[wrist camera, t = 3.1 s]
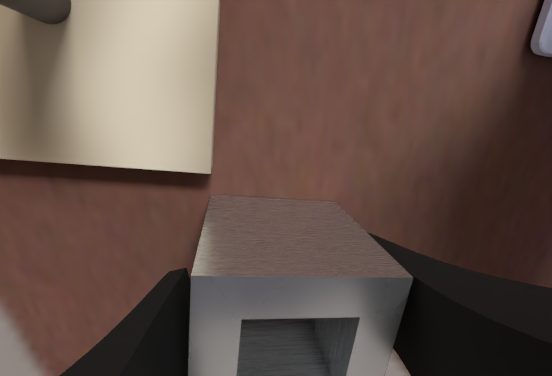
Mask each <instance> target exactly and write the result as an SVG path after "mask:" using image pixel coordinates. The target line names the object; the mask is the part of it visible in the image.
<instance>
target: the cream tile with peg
mask: <svg viewBox="0 0 552 376" xmlns="http://www.w3.org/2000/svg"><path fill="white" fill-rule="evenodd" d="M219 19H220V0H0V159H11V160H25V161H39V162H53V163H67V164H80V165H94V166H108V167H122V168H136V169H150V170H163V171H177V172H191V173H205V174H211V171H212V163H213V143H214V122H215V101H216V81H217V60H218V40H219Z"/></svg>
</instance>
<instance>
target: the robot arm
mask: <svg viewBox="0 0 552 376" xmlns="http://www.w3.org/2000/svg"><path fill="white" fill-rule="evenodd" d="M531 49H532V51H533V52H534V53H535V54H537V55H542V56H547V57H552V0H544V3H543V6H542V9H541V12H540V15H539V18H538V21H537V24H536V27H535V30H534V33H533V36H532V39H531ZM368 234H369V235H370V236H371V237H372V238H373V239H374V240H375V241H376V242H377V243H378V244H379V245H380V246H381V247H382V248H383V249H384V250H385V251H386V252H388V253H389V254H390V255H391V256H392V257H393V258H394V259H395V260H396V261H397V262H398V263H399V264H400V265H401V266H402V267H403V268H404V269H405V270H406V271H407V272H408V273H409V274H410V275H411V276H412V277H413V281H412V284H411V288H410V291H409V294H408V298H407V301H406V305H405V308H404V311H403V315H402V318H401V322H400V325H399V328H398V332H397V335H396V339H395V342H394V345H393V348H394V349H395V351H396V352H397V354H398V355H399V357H400V358H401V360H402V362H403V363H404V365H405V366H406V368H407V370H408V371H409V373H410V375H411V376H552V288H547V287H542V286H537V285H531V284H526V283H521V282H516V281H512V280H507V279H503V278H498V277H494V276H490V275H486V274H482V273H478V272H474V271H471V270H467V269H464V268H460V267H457V266H454V265H450V264H447V263H444V262H441V261H438V260H436V259H433V258H430V257H427V256H424V255H422V254H419V253H416V252H414V251H411V250H409V249H406V248H404V247H401V246H399V245H397V244H394V243H392V242H389V241H387V240H385V239H382V238H380V237H378V236H375V235H373V234H370V233H368ZM190 290H191V281H190V278H189V275H188V271H187V268H184V269H179V270H174V271H170V272H168V273H167V274H166V275H165V276H164V277H163V278H162V279H161V280H160V281H159V282H158V284H157V285H156V286H155V287H154V288H153V289H152V290H151V291H150V292H149V293H148V294H147V295H146V296H145V297H144V298H143V300H142V301H141V302H140V303H139V304H138V305H137V306H136V307H135V308H134V309H133V310H132V311H131V312H130V313H129V314H128V315H127V316H126V317H125V318H124V319H123V320H122V321H121V322H120V323H119V324H118V325H117V326H116V327H115V328H114V329H113V330H112V331H111V332H110V333H109V334H108V335H107V336H105V337H104V338H103V339H102V340H101V341H100V342H99V343H98V344H97V345H96V346H94V347H93V348H92V349H91V350H90V351H89V352H88V353H86V354H85V355H84V356H83V357H82V358H80V359H79V360H78V361H77V362H76V363H75V364H73V365H72V366H71V367H70V368H68V369H67V370H66V371H65V372H64V373H62V374H61V375H60V376H188V357H189V324H190Z"/></svg>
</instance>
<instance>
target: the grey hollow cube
mask: <svg viewBox="0 0 552 376" xmlns="http://www.w3.org/2000/svg"><path fill="white" fill-rule="evenodd" d="M412 281H413V277H412V276H411V275H410V274H409V273H408V272H407V271H406V270H405V269H404V268H403V267H402V266H401V265H400V264H399V263H398V262H397V261H396V260H395V259H394V258H393V257H392V256H391V255H390V254H389V253H388V252H386V251H385V250H384V249H383V248H382V247H381V246H380V245H379V244H378V243H377V242H376V241H375V240H374V239H373V238H372V237H371V236H370V235H369V234H368V233H367V232H366V231H365V230H364V229H363V228H362V227H361V226H360V225H359V224H358V223H356V222H355V221H354V220H353V219H352V218H351V217H350V216H349V215H348V214H347V213H346V212H345V211H344V210H343V209H342V208H341V207H340V206H339V205H338V204H337V203H336V202H334V201H318V200H301V199H284V198H268V197H251V196H234V195H217V194H211V196H210V200H209V204H208V208H207V212H206V216H205V220H204V224H203V229H202V233H201V237H200V241H199V245H198V249H197V253H196V257H195V261H194V265H193V269H192V273H191V290H190V324H189V357H188V376H385V372H386V369H387V366H388V362H389V359H390V356H391V352H392V349H393V345H394V342H395V339H396V335H397V332H398V328H399V325H400V322H401V318H402V315H403V311H404V308H405V305H406V301H407V298H408V294H409V291H410V288H411V284H412Z"/></svg>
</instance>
